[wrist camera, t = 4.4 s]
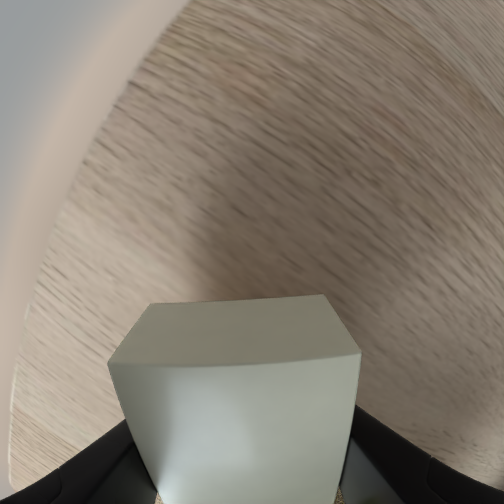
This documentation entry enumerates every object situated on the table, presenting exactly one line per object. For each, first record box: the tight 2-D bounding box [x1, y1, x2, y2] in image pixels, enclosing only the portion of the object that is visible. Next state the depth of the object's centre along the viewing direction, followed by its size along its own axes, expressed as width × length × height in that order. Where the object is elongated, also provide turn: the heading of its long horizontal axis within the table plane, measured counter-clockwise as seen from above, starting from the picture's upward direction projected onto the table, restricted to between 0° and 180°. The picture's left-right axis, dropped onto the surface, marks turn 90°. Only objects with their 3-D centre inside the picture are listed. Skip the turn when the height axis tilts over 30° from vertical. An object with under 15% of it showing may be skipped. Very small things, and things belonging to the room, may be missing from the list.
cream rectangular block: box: [108, 294, 362, 504], centre depth 7 cm, size 6×4×3 cm
